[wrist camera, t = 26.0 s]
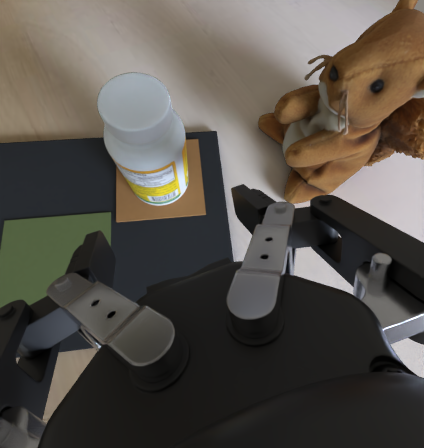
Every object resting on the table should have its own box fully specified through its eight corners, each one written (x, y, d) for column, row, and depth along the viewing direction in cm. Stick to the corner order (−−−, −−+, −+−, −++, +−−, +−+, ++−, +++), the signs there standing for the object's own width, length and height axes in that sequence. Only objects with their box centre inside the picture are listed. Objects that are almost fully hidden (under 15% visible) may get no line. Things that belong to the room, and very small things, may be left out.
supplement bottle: (167, 217, 21) (142, 160, 12) (119, 187, 22) (60, 110, 12) (200, 173, 22) (200, 90, 13) (154, 145, 23) (124, 48, 14)
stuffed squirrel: (249, 121, 25) (300, -47, 13) (371, 113, 27) (527, -49, 14) (267, 208, 23) (353, 103, 10) (401, 194, 24) (628, 84, 11)
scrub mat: (-43, 363, 18) (-54, 366, 17) (-6, 147, 23) (-14, 142, 22) (241, 328, 20) (242, 329, 19) (216, 134, 25) (216, 129, 24)
